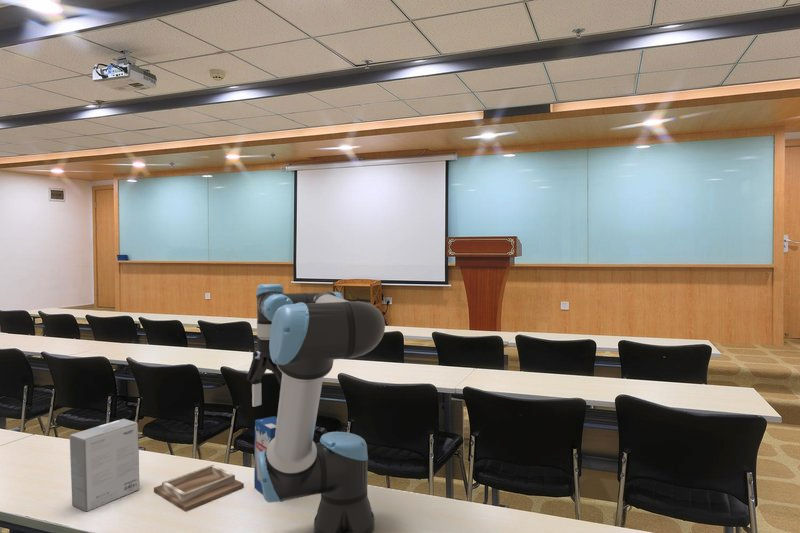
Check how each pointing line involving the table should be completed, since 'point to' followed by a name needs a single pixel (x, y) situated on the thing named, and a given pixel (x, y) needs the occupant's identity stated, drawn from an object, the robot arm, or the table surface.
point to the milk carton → (262, 444)
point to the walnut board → (198, 487)
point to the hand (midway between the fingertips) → (270, 410)
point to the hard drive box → (104, 463)
